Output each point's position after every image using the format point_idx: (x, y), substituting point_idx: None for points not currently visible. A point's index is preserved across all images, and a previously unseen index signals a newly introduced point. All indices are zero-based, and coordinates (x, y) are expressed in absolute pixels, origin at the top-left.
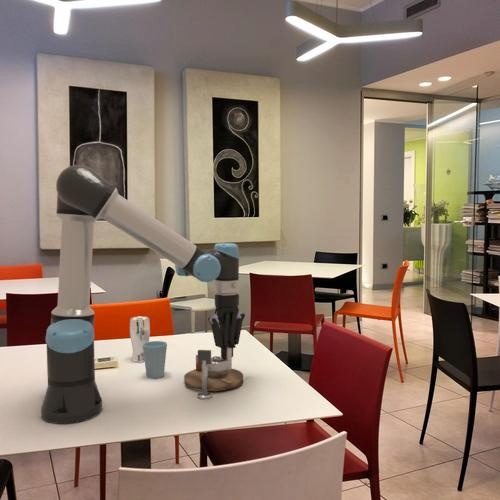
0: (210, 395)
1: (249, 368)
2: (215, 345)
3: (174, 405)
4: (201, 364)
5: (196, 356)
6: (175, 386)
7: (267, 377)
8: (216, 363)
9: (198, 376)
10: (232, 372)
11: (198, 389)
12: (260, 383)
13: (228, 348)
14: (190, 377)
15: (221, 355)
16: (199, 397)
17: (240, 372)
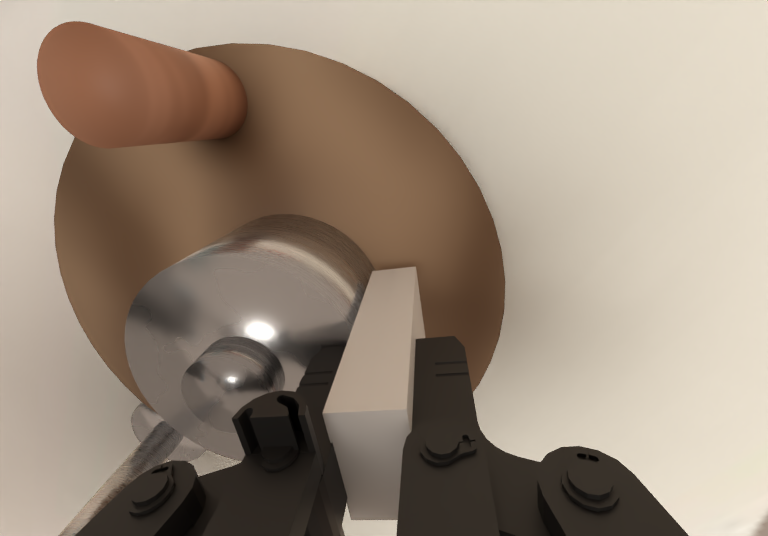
0: (192, 452)
1: (759, 110)
2: (133, 480)
3: (30, 430)
4: (182, 141)
5: (49, 101)
6: (45, 202)
7: (663, 377)
8: (212, 445)
9: (160, 260)
10: (433, 318)
11: None
12: (536, 431)
13: (373, 508)
14: (99, 247)
15: (309, 377)
16: (140, 437)
17: (486, 350)
